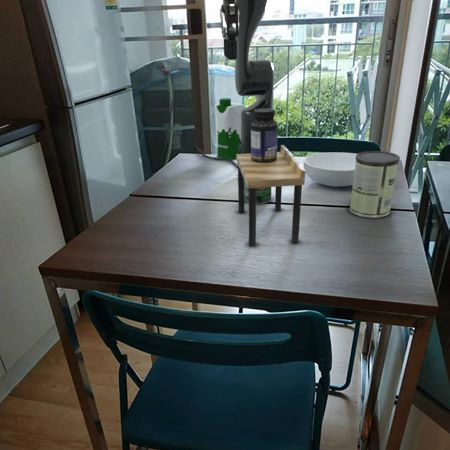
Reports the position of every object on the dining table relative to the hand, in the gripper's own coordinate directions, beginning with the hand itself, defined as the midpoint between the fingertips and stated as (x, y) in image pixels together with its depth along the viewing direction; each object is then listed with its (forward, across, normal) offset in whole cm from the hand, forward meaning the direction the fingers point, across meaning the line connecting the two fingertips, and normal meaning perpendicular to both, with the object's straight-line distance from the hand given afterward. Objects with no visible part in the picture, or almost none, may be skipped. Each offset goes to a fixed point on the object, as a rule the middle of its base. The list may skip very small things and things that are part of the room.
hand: (230, 58), depth 102 cm
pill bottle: (+21, -11, -7) cm, 24 cm away
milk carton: (+37, +52, -4) cm, 64 cm away
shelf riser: (+36, -15, -7) cm, 39 cm away
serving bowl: (+36, +15, -33) cm, 51 cm away
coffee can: (+36, -9, -35) cm, 51 cm away
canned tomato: (+36, +4, -7) cm, 37 cm away
